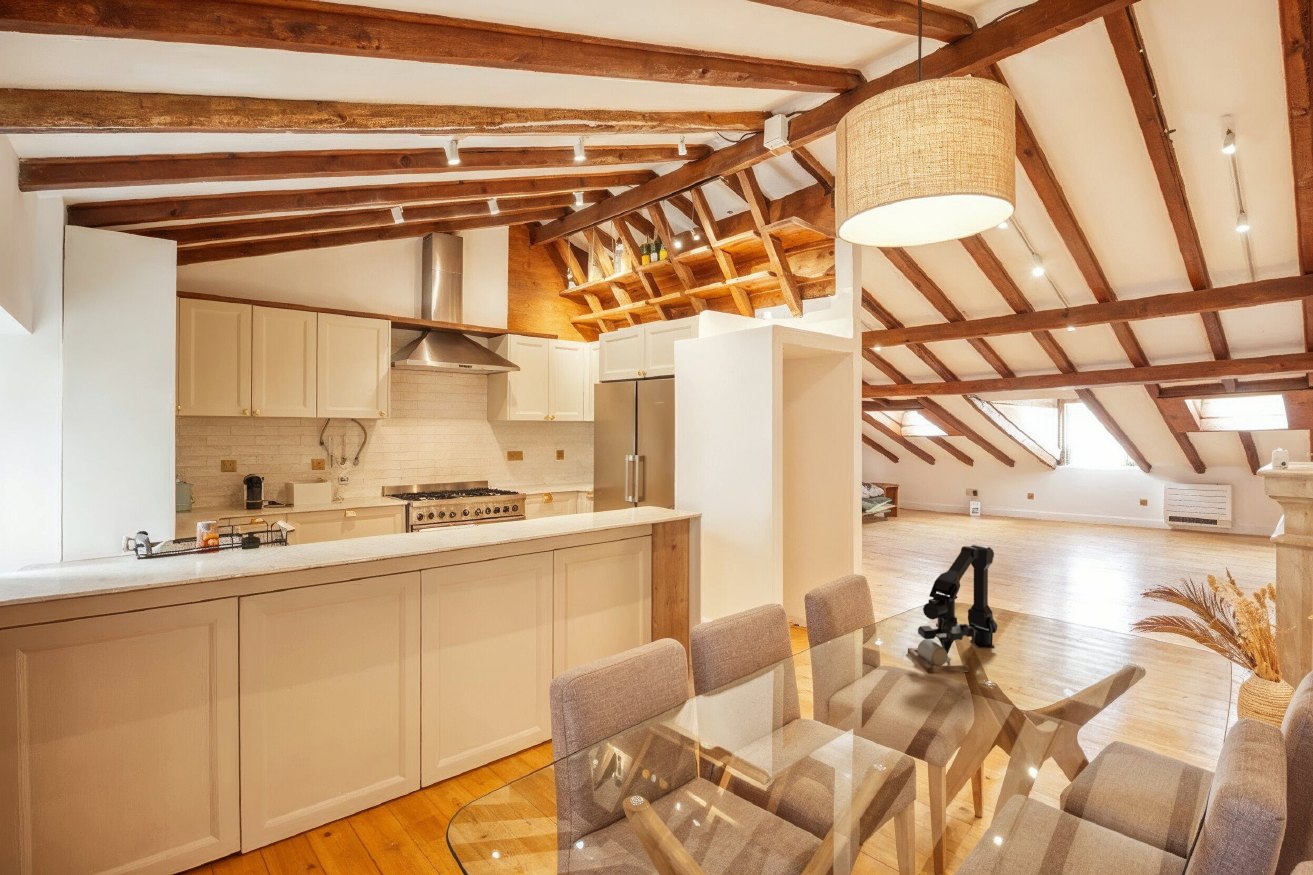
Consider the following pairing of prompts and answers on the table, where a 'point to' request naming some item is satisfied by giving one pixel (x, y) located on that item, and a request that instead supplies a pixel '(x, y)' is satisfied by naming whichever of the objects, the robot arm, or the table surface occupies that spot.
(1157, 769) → the table surface
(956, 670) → the walnut corral
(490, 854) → the table surface
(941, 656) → the ceramic mug
